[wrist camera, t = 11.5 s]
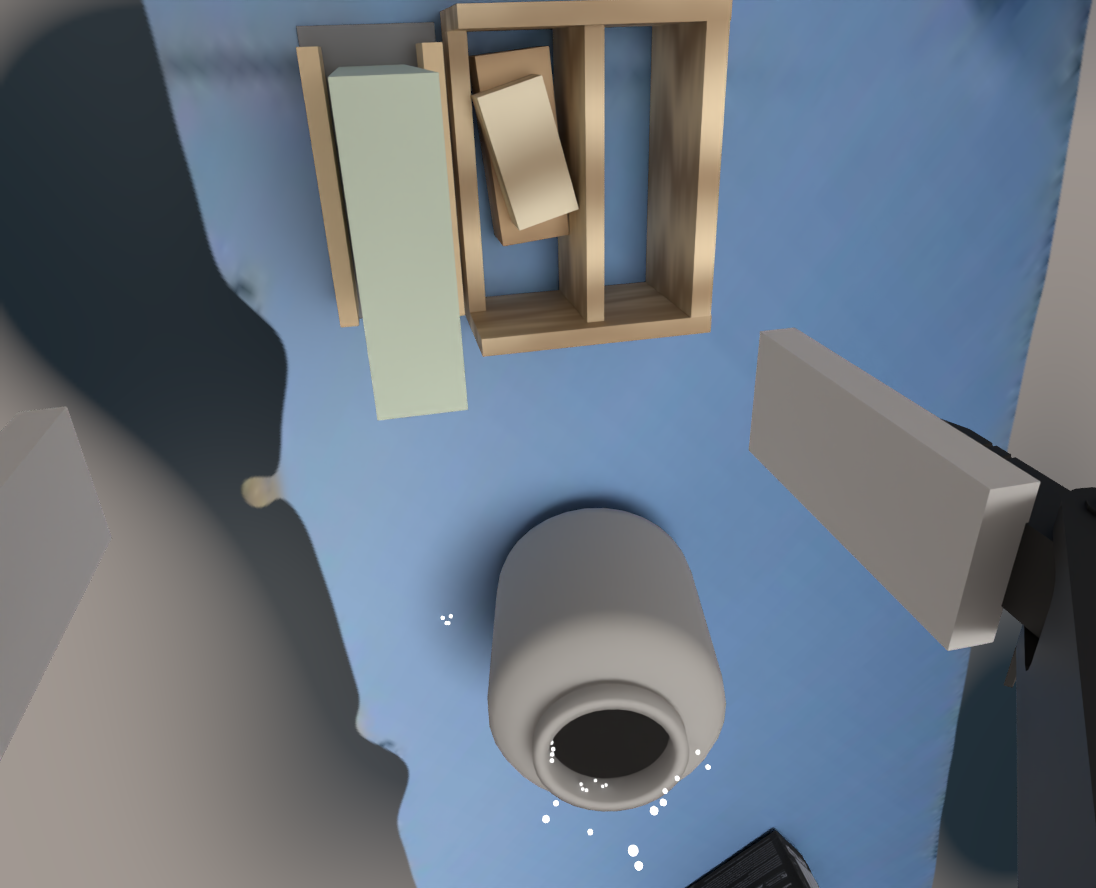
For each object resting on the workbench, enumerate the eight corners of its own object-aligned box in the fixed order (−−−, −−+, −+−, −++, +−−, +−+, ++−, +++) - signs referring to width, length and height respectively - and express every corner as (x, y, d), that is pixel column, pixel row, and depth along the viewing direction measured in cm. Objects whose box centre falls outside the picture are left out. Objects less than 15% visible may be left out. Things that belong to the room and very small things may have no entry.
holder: (296, 26, 41) (289, 23, 37) (433, 22, 42) (442, 19, 38) (342, 318, 48) (341, 344, 44) (458, 307, 50) (468, 331, 45)
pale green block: (338, 66, 42) (327, 77, 25) (404, 64, 43) (438, 72, 25) (369, 285, 47) (377, 420, 30) (426, 280, 48) (468, 409, 31)
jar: (434, 657, 62) (478, 987, 40) (436, 496, 55) (490, 783, 34) (657, 637, 66) (807, 924, 44) (683, 485, 60) (873, 733, 38)
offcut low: (466, 56, 44) (475, 56, 41) (535, 46, 44) (548, 45, 41) (493, 234, 49) (503, 246, 45) (555, 223, 49) (569, 234, 46)
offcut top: (470, 95, 42) (477, 98, 39) (532, 73, 42) (542, 75, 40) (511, 221, 45) (519, 230, 43) (568, 201, 45) (578, 208, 43)
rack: (439, 11, 42) (456, 3, 35) (673, 5, 45) (732, -4, 38) (465, 314, 50) (483, 356, 43) (662, 294, 52) (710, 332, 45)
